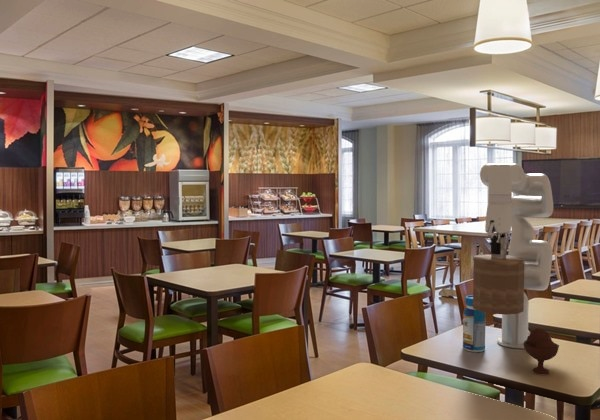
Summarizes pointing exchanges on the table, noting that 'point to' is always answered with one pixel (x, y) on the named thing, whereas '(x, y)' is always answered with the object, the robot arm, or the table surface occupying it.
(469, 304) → the beverage bottle
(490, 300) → the walnut cover
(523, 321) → the robot arm
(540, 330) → the ice cream bowl
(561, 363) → the table surface
